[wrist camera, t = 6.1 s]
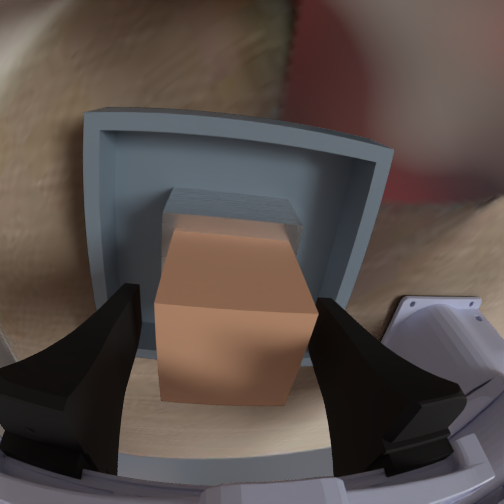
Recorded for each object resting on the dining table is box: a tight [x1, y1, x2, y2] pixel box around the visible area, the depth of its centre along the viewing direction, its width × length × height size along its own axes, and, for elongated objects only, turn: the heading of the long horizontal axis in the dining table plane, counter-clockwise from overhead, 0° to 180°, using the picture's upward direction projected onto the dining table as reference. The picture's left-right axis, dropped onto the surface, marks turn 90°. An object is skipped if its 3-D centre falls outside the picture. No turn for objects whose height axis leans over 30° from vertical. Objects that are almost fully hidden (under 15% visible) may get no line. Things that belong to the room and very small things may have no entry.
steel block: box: [161, 187, 303, 275], centre depth 16 cm, size 6×6×4 cm
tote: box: [83, 107, 394, 366], centre depth 17 cm, size 14×14×3 cm
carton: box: [154, 231, 318, 406], centre depth 13 cm, size 5×5×5 cm
